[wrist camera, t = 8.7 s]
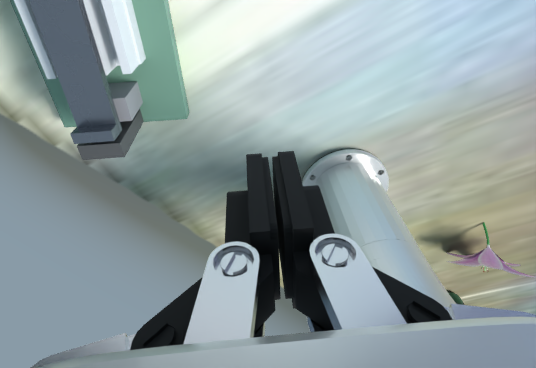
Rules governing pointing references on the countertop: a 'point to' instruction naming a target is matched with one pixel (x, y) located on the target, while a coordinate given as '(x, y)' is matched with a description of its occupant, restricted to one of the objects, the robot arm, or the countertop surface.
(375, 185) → the robot arm
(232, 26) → the countertop surface
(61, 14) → the thin grey bar
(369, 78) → the countertop surface
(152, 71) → the base
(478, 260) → the lily
